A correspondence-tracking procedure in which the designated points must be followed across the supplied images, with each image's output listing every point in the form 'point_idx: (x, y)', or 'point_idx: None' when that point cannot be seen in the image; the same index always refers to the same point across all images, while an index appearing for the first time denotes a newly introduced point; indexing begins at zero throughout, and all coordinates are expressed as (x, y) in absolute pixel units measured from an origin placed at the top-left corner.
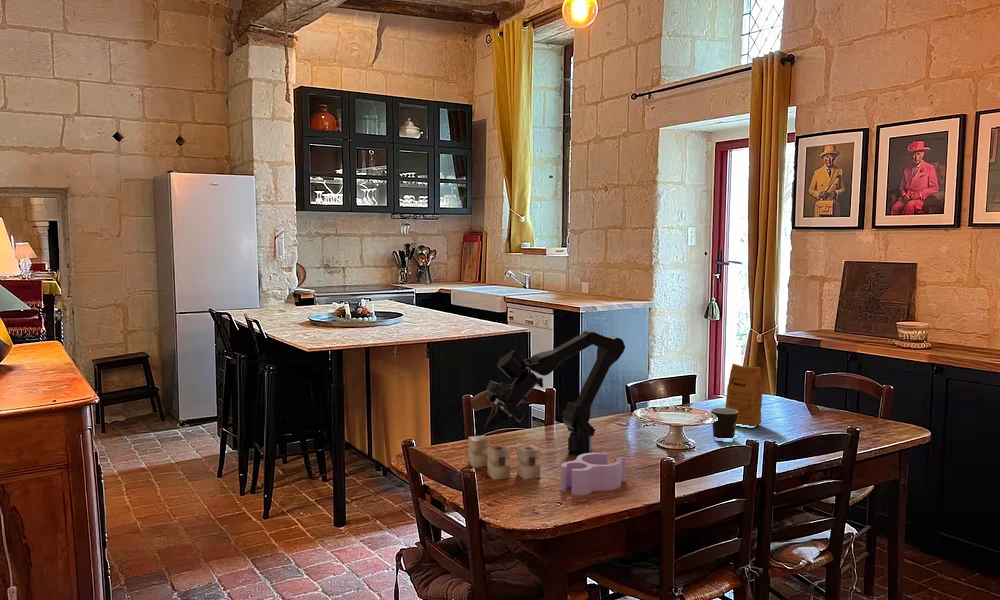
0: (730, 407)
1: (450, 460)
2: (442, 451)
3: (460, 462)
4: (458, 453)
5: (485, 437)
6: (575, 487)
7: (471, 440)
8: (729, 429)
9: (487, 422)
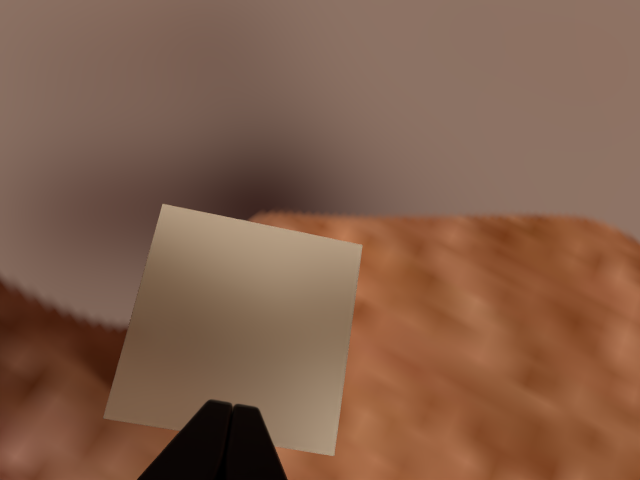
0: None
1: (423, 227)
2: (636, 280)
3: None
4: (556, 359)
5: None
6: None
7: (251, 227)
8: None
9: (214, 449)
